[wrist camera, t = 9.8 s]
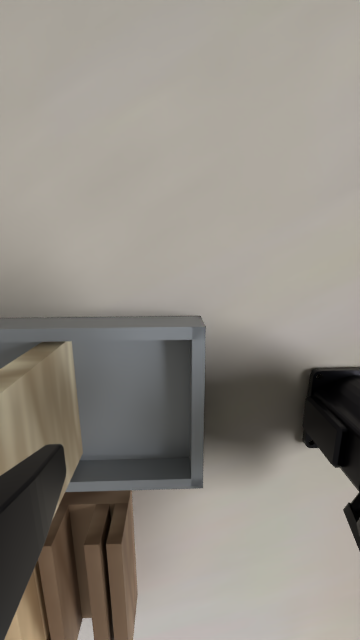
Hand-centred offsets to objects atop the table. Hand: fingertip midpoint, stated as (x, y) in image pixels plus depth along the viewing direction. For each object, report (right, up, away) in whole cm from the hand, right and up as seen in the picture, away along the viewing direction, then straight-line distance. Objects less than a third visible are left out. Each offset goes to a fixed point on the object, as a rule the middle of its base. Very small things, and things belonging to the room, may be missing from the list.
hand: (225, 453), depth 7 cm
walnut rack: (-11, -16, +16) cm, 25 cm away
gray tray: (-9, -2, +12) cm, 16 cm away
